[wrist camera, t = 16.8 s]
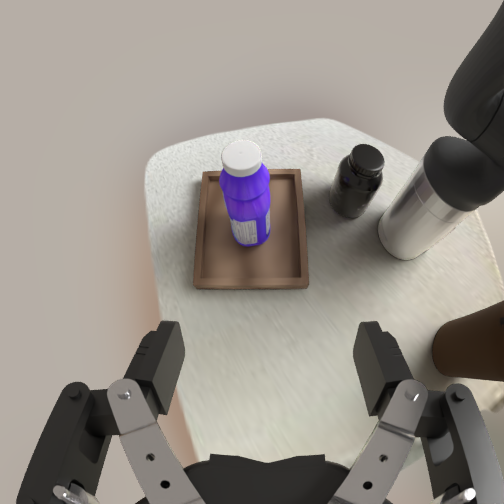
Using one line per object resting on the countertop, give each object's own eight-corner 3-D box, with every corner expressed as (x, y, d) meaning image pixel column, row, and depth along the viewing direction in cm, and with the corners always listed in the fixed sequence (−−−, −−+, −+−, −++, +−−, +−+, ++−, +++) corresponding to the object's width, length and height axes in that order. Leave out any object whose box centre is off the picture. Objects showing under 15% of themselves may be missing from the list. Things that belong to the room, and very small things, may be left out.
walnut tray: (299, 177, 48) (300, 169, 45) (306, 288, 41) (309, 284, 39) (205, 180, 48) (202, 171, 46) (197, 289, 42) (193, 285, 40)
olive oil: (428, 385, 34) (549, 392, 11) (427, 320, 38) (545, 277, 15) (474, 373, 34) (586, 363, 10) (472, 313, 37) (581, 272, 14)
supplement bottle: (364, 224, 44) (389, 185, 33) (324, 212, 45) (340, 168, 34) (369, 190, 46) (392, 147, 35) (332, 179, 47) (347, 132, 36)
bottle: (229, 209, 45) (210, 133, 29) (265, 203, 45) (263, 125, 29) (235, 252, 42) (215, 189, 26) (273, 246, 42) (276, 179, 26)
